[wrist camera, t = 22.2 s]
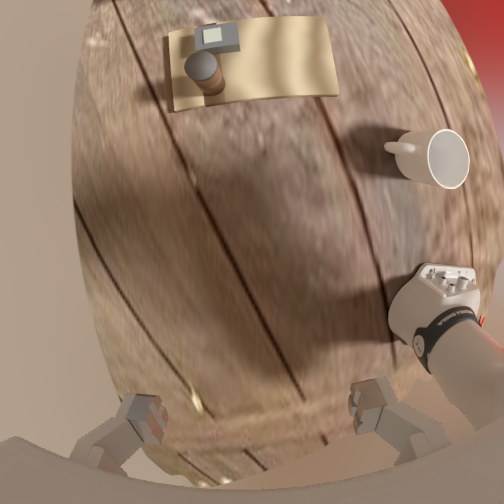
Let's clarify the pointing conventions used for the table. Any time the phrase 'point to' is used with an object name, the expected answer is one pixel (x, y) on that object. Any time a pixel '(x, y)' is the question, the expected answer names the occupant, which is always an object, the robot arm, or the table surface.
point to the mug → (432, 157)
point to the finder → (217, 38)
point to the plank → (260, 63)
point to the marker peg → (205, 72)
